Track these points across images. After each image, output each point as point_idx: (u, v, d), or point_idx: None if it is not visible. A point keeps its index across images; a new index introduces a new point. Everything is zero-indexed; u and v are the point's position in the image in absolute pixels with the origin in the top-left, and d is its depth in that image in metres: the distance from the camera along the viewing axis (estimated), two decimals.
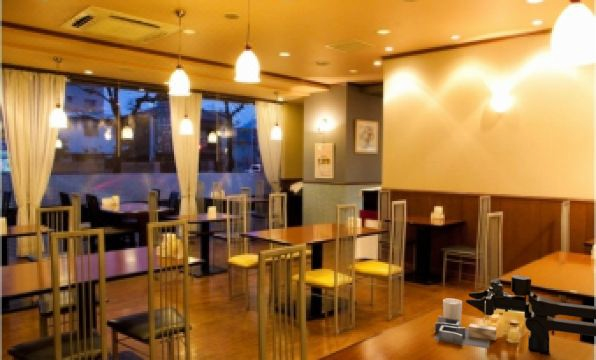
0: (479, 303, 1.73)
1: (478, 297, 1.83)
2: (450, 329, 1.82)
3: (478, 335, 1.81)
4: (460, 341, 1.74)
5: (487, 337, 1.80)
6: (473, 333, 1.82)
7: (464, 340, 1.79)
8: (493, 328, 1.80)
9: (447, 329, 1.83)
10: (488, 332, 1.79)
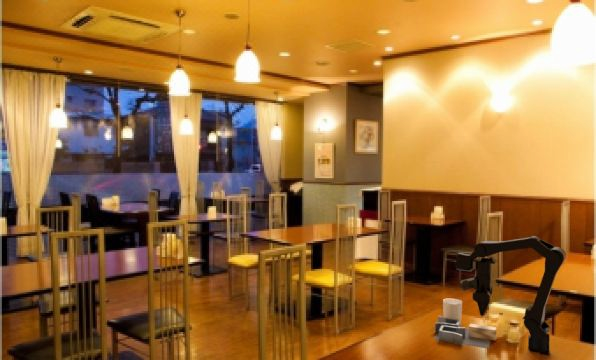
0: (481, 304, 1.76)
1: None
2: (450, 329, 1.82)
3: (478, 335, 1.81)
4: (460, 341, 1.74)
5: (487, 337, 1.80)
6: (473, 333, 1.82)
7: (464, 340, 1.79)
8: (493, 328, 1.80)
9: (447, 329, 1.83)
10: (488, 332, 1.79)
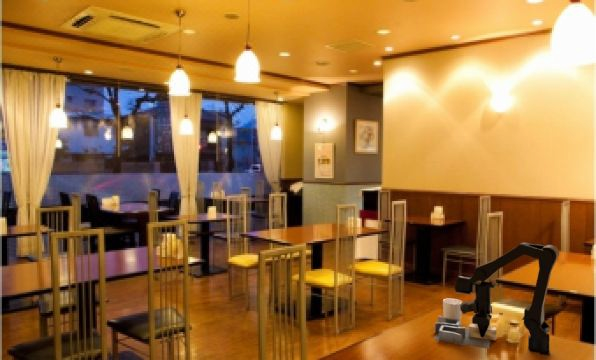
0: (481, 325, 1.79)
1: None
2: (450, 329, 1.82)
3: (478, 335, 1.81)
4: (460, 341, 1.74)
5: (487, 337, 1.80)
6: (473, 333, 1.82)
7: (464, 340, 1.79)
8: (493, 328, 1.80)
9: (447, 329, 1.83)
10: (488, 332, 1.79)
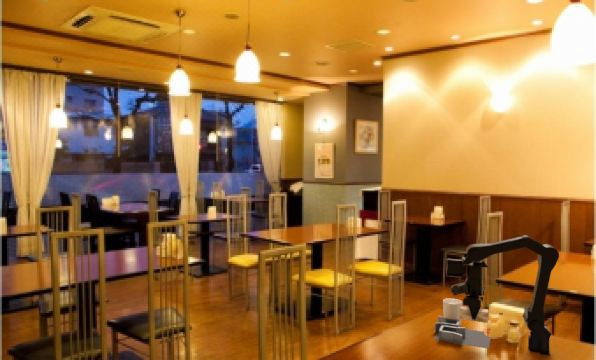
0: (473, 307, 1.73)
1: None
2: (450, 329, 1.82)
3: (469, 318, 1.75)
4: (460, 341, 1.74)
5: (479, 319, 1.73)
6: (464, 316, 1.75)
7: (464, 340, 1.79)
8: (485, 310, 1.74)
9: (447, 329, 1.83)
10: (480, 314, 1.73)
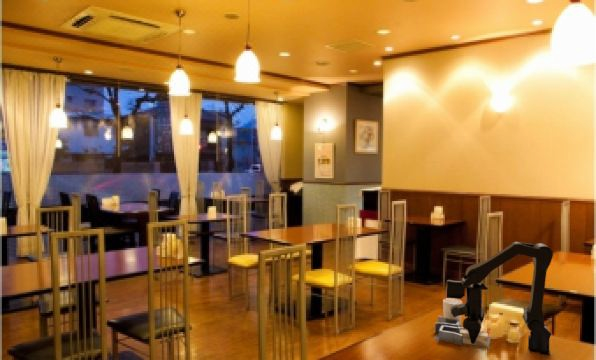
0: (472, 331, 1.71)
1: None
2: (450, 329, 1.82)
3: (469, 342, 1.75)
4: (460, 341, 1.74)
5: (478, 343, 1.74)
6: (464, 339, 1.76)
7: None
8: (484, 334, 1.74)
9: (447, 329, 1.83)
10: (480, 338, 1.73)
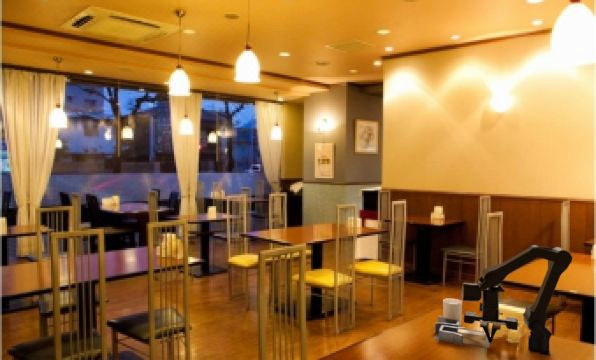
0: None
1: None
2: (450, 329, 1.82)
3: (466, 341, 1.76)
4: (460, 341, 1.74)
5: (476, 343, 1.74)
6: None
7: None
8: (482, 334, 1.75)
9: (447, 329, 1.83)
10: (477, 338, 1.74)
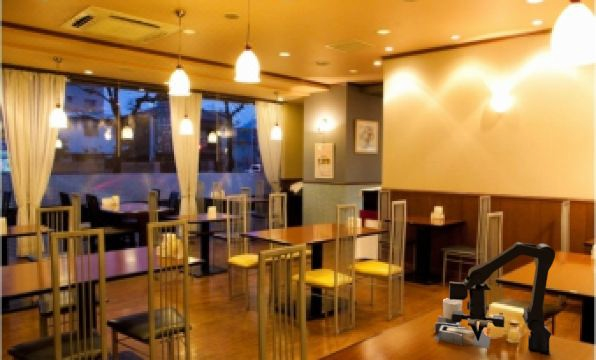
0: None
1: None
2: None
3: None
4: (460, 341, 1.74)
5: (465, 341, 1.76)
6: None
7: None
8: (471, 332, 1.76)
9: None
10: (466, 336, 1.76)
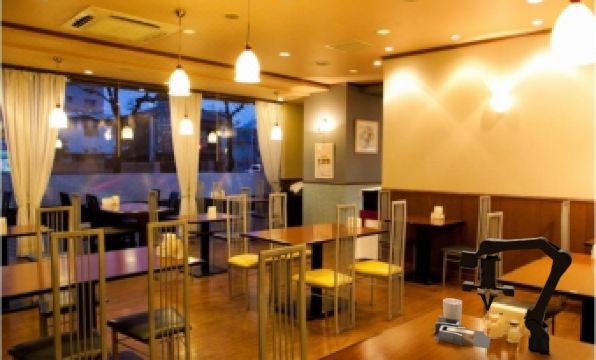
0: None
1: None
2: None
3: None
4: (460, 341, 1.74)
5: (465, 341, 1.76)
6: None
7: None
8: (471, 332, 1.76)
9: None
10: (466, 336, 1.76)
